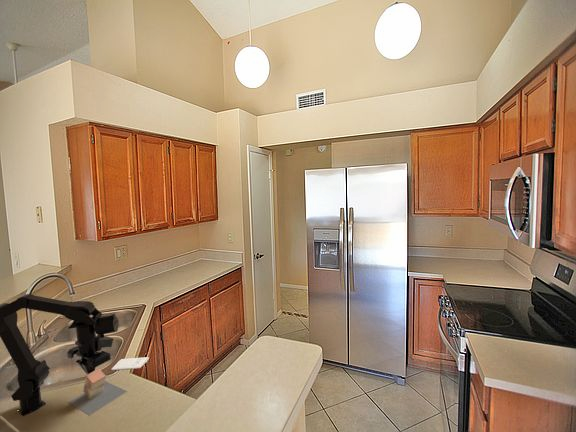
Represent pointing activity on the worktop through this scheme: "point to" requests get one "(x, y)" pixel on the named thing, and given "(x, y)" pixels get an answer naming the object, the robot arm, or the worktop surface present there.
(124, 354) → the worktop surface
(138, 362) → the external hard drive
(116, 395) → the mat
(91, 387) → the block
